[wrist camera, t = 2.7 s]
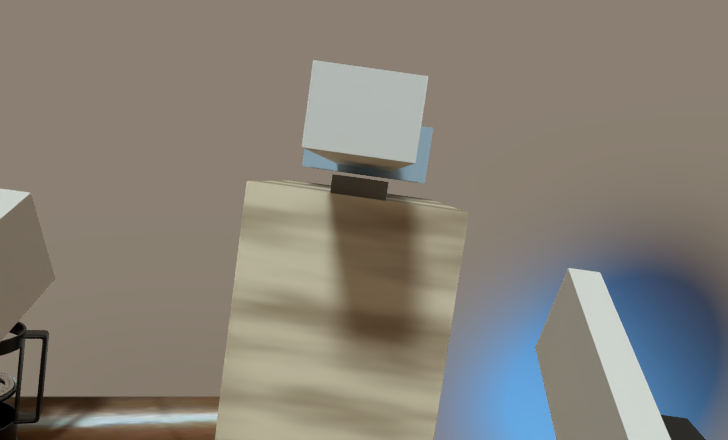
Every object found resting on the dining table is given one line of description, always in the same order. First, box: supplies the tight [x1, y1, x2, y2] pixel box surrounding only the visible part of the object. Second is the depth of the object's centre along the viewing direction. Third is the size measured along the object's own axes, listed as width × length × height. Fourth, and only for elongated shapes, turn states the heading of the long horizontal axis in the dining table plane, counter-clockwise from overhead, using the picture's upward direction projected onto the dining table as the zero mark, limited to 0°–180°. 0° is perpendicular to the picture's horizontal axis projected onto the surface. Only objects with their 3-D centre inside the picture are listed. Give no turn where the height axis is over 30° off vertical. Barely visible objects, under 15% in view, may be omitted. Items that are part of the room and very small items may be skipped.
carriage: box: [302, 60, 433, 183], centre depth 32 cm, size 28×9×4 cm, turn 179°
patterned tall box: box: [215, 175, 469, 440], centre depth 39 cm, size 18×12×31 cm, turn 179°
